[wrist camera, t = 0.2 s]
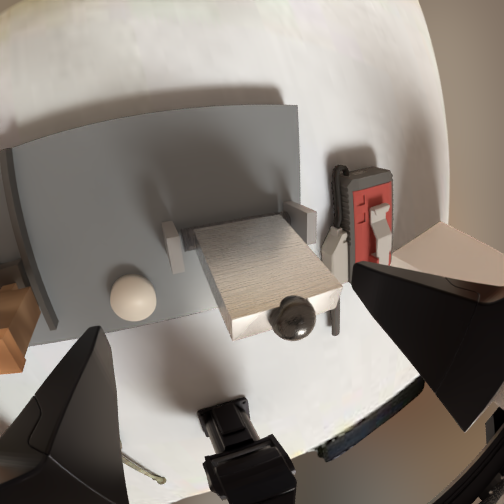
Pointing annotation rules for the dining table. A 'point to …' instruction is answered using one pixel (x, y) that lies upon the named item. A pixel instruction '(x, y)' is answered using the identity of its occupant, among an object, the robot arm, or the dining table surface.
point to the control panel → (140, 209)
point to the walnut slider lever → (15, 316)
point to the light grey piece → (263, 275)
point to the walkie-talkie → (358, 224)
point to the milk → (451, 256)
